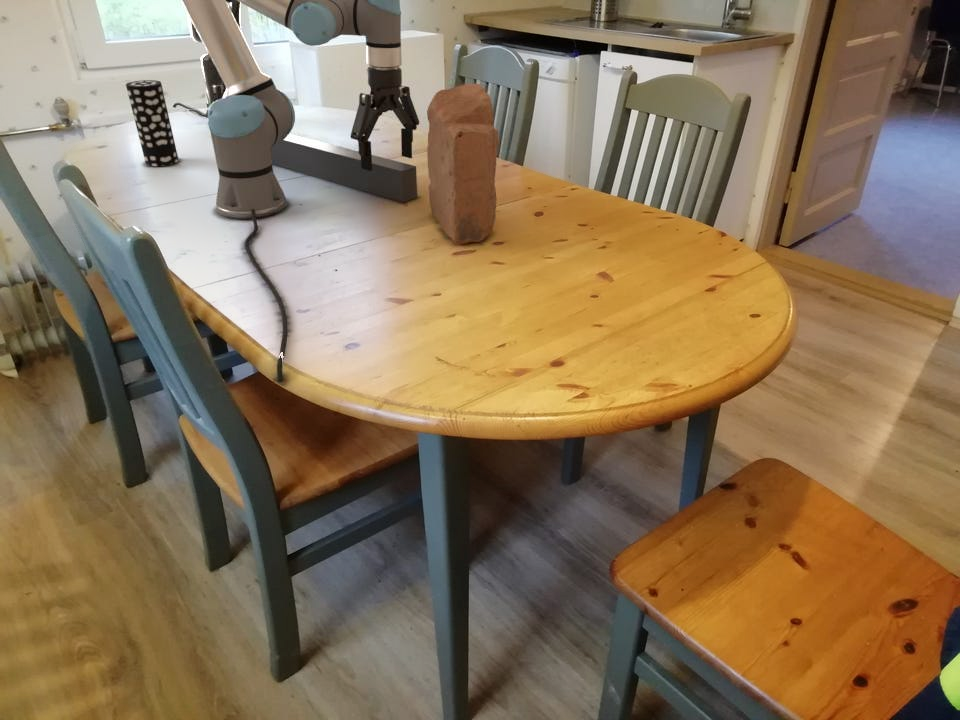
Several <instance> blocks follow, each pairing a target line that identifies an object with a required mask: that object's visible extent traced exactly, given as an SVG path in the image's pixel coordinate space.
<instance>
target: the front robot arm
mask: <svg viewBox="0 0 960 720" xmlns="http://www.w3.org/2000/svg"><path fill="white" fill-rule="evenodd" d="M180 1H181V3H182V5H183V7H184V9H185V11H186V13H187V16H188V15H189V17H190V19H191V20H192V22H193V24H194V26H195V28H196V30H197V32H198V34H199V36H200V38H201V40H202V42H203V43H202V44H203V45H204V47H205V49H206V51H207V53H209V55H210V57H211V59H212V61H213V63H214V65H215V66H216V68H217V70H218V72H219V74H220V76H221V78H222V80H223V82H224V84H225V86H226V91H225V95H224V98H221V99H219V100H216V101H215V102H213V103H212V104H211V105H210V106H209V108H208V116H207V124H208V129H209V131H210V132H209V133H210V136H211V142H212V147H213V151H214V156H215V161H216V167H217V169H218V170H217V172H218V185H217V193H216V201H215V206H216V210H217V213H218V214H219V215H221V216H223V217H225V218H229V219H236V220H252V223H253V230H252V232H251V233H250V234H249V235H248V236H247V237H246V239H245V242H244V250H245V252H246V254H247V256H248V258H249V259H250V261H251V264H252V266H253V267H254V268H255V269H256V271H257V272H258V274H259V275H260V277H261V278H262V280H263V281H264V282H265V284H266V285H267V286H268V288H269V289H270V291H271V293H272V294H273V295H274V298H275V300H276V302H277V305H278V307H279V310H280V314H281V321H282V335H281V342H280V348H279V353H278V354H279V355H280V353H281V352H283V356H284V358H283V361H284V359H285V355H286V349H287V341H288V333H289V330H288V327H289V326H288V317H287V312H286V309H285V305H284V302H283V300H282V298H281V296H280V294H279V293H278V290H277V289H276V286H274V284H273V283H272V282H271V280H270V279H269V277H268V276H267V275H266V273H265V271H263V269H262V268H261V266H260V265H259V264H258V262H257V260H256V258H255V257H254V254H253V253H252V251H251V249H250V242H251V240H252V239H253V238H254V237H255V235H256V234H257V232H258V230H259V225H258V221H257V219H260V218H261V219H262V218H265V217H266V218H267V217H270V216H274V215H276V214H278V213H280V212H282V211H283V210H285V209H286V207H287V199H286V194H285V193H284V191H283V189H282V187H281V184H280V182H279V180H278V179H277V177H276V175H275V172H274V167H273V164H272V160H271V153H270V149H271V148H272V147H273V146H274V145H276V144H277V143H279V142H281V141H283V140H284V139H285V138H286V137H287V136H288V134H291V132H292V130H293V129H294V126H295V122H296V111H295V108H294V105H293V102H292V101H291V99H290V98H289V97H288V96H287V94H285V93H284V92H283V91H281V90H280V89H278V88H277V87H276V85H275V83H274V81H273V78H272V77H271V76H269V75H267V74H265V73H263V72H262V70H261V68H260V67H259V65H258V63H257V61H256V59H255V57H254V55H253V53H252V51H251V49H250V46H249V45H248V42H247V41H246V38H245V36H244V34H243V32H241V31H242V29H241V30H240V28H239V26H238V24H237V22H236V20H235V18H234V16H233V14H232V12H231V10H230V8H229V6H230V5H229V3H227V2H226V0H180ZM237 1H239V2H241V5H244V6H246V7H248V8H250V9H251V10H253V11H256V12H257V13H259V14H261V15H263V16H264V17H266V18H269V19H270V20H272V21H274V22H275V23H278V24H279V25H281V26H283V27H285V28H287V29H289V30H290V31H292V33H293V34H294V36H295V37H296V38H297V39H298V41H300V42H301V43H302V44H304V45H307V46H310V47H316V46H322V45H325V44H327V43H329V42H330V41H331V40H333V39H335V38H338V37H340V36H358V37H365V47H366V49H365V51H366V64H367V66H368V68H367V69H366V73H367V85H368V86H369V87H370V91H369V93H363V92H360V93H359V96H358V106H357V111H356V114H355V117H354V122H353V125H352V129H351V132H350V139H352V140H354V141H357V144H358V151H359V155H361V168H362V169H365V170H368V171H371V170H372V155H373V154H372V141H371V140H369V139H370V137H371V135H372V133H373V131H374V128H375V127H376V124H377V122H378V120H379V119H380V117H381V116H382V115H383V114H384V113H387V112H389V111H390V112H391V111H392V112H393V113H394V115H395V116H396V118H397V119H398V121H399V122H400V124H401V125H402V128H400V139H401V141H400V142H401V143H400V145H401V157H404V158H407V159H412V158H413V142H414V131H416V130H417V128H418V126H419V125H420V120H419V116H418V114H417V111H416V108H415V106H414V103H413V100H412V97H411V90H410V87H409V86H407V85H402V84H403V78H402V77H403V76H402V75H403V74H402V73H403V72H402V71H403V70H402V69H401V66H402V64H403V63H402V62H403V61H402V35H401V34H402V31H401V30H402V29H401V27H402V23H401V22H402V19H401V18H402V11H401V2H400V1H401V0H237ZM279 355H278V356H279ZM278 358H279V357H278ZM278 358H277V362H276V377H277V382H278V383H282V382H284V374H283V365H282V358H281V356H280V358H279V359H278Z"/></svg>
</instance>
